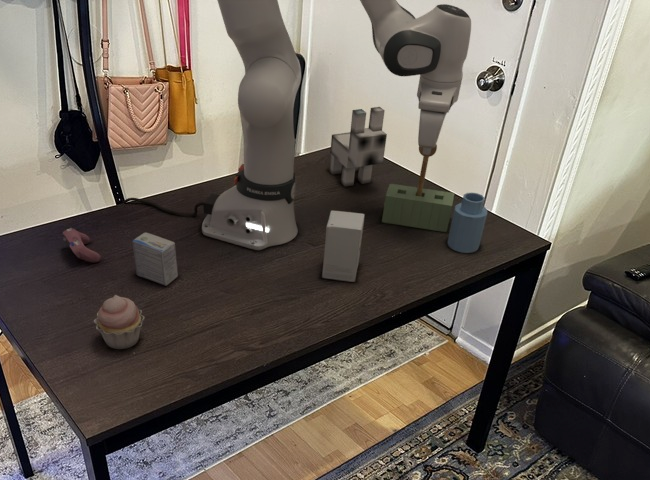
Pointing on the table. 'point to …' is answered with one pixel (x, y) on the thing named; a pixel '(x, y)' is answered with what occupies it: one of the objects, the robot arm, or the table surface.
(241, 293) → the table surface
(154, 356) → the table surface
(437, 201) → the stand
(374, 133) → the blocky rabbit figurine
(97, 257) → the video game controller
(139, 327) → the cupcake
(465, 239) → the bottle
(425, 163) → the spoon
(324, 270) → the white packaging box
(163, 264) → the medicine box
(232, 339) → the table surface
